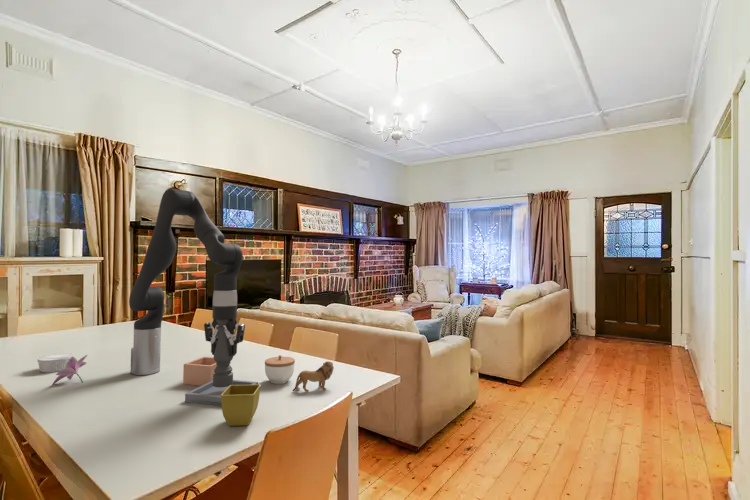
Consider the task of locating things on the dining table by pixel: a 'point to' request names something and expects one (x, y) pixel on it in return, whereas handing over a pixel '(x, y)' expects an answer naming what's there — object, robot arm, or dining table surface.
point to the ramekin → (53, 362)
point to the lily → (70, 369)
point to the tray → (211, 393)
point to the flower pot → (240, 403)
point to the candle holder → (222, 358)
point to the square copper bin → (199, 371)
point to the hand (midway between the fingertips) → (223, 354)
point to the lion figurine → (315, 376)
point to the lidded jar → (279, 369)
